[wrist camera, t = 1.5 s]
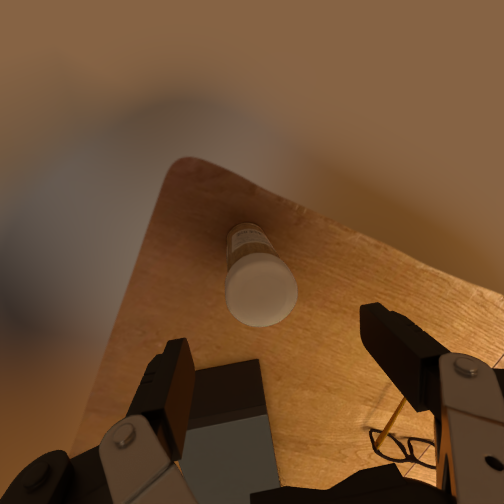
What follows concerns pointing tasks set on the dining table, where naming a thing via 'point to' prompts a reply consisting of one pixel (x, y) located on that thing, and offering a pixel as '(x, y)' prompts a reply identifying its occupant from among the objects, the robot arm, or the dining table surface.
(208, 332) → the dining table surface
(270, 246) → the sprinkles bottle
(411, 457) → the eyeglasses
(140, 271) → the dining table surface
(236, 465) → the shelf
